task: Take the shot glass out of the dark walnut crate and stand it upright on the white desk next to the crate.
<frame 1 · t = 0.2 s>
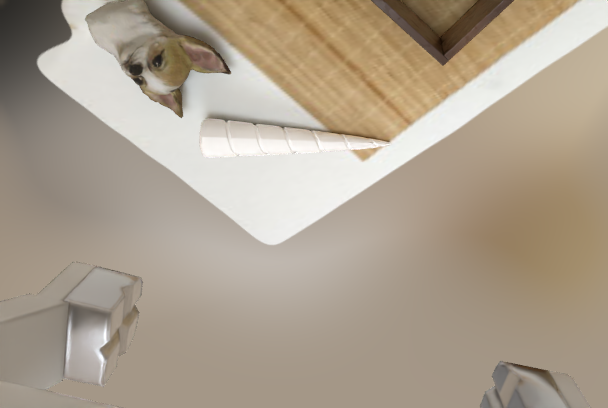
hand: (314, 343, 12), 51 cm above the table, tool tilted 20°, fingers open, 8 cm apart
unicorn horn: (290, 131, 69), on the table
ceramic sculpture: (164, 42, 64), on the table
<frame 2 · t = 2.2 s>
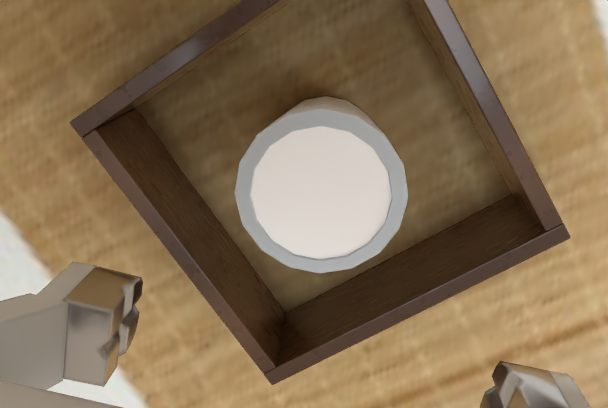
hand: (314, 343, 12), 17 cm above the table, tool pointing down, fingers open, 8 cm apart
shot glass: (325, 150, 28), resting in crate
crate: (325, 151, 28), on the table
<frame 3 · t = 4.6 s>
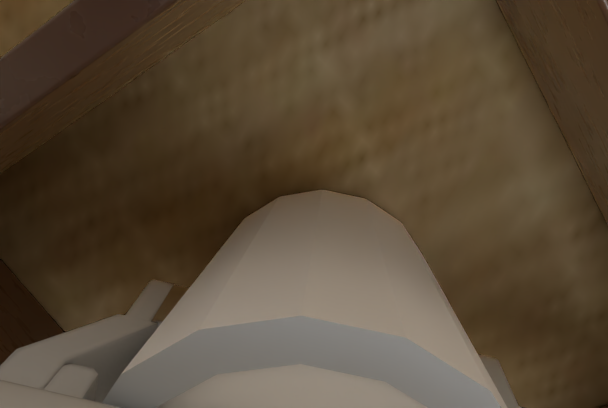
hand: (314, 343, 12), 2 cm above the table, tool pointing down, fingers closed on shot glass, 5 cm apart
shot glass: (321, 286, 15), resting in crate, touching gripper
crate: (320, 290, 14), on the table
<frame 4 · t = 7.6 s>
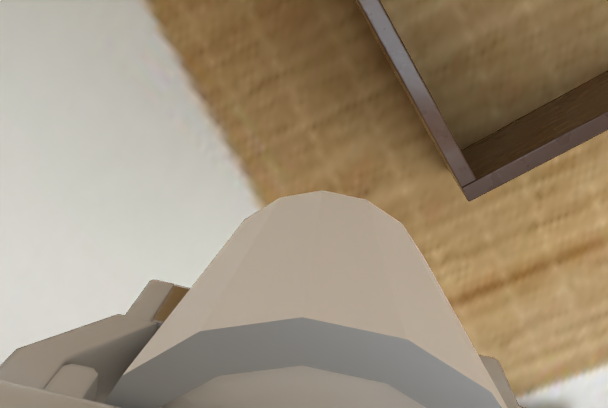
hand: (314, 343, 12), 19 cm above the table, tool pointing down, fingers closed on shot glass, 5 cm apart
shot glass: (322, 287, 15), point 16 cm above the table, touching gripper
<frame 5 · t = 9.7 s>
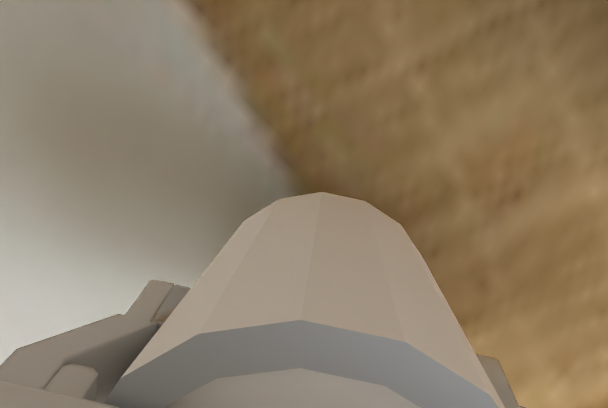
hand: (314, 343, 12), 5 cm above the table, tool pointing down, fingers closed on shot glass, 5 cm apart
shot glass: (321, 288, 15), point 2 cm above the table, touching gripper
when the fingers open (2 cm above the table, at t = 11.0 s): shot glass stays where it is, on the table.
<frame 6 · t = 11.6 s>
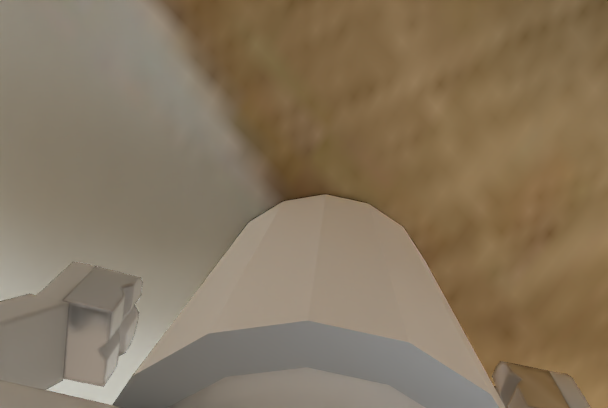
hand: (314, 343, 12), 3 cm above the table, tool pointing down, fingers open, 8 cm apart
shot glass: (324, 289, 15), on the table
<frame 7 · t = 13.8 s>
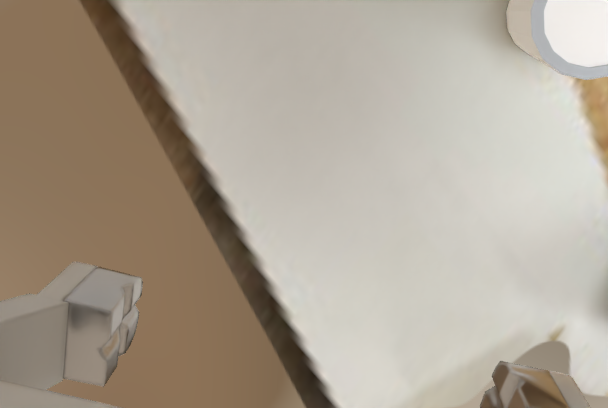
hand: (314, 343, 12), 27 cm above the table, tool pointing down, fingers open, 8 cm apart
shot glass: (550, 11, 34), on the table
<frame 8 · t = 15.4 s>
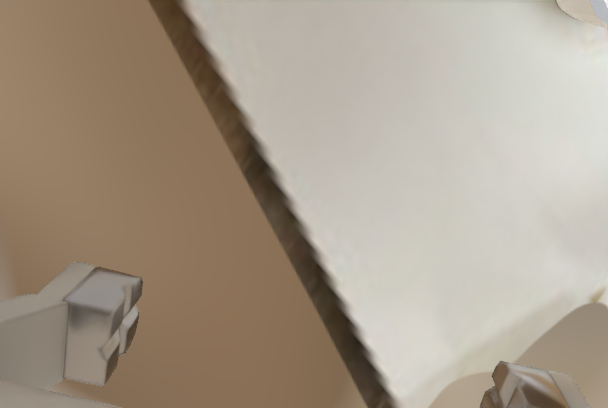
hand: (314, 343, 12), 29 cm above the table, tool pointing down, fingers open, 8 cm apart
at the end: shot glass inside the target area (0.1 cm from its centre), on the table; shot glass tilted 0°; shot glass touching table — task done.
